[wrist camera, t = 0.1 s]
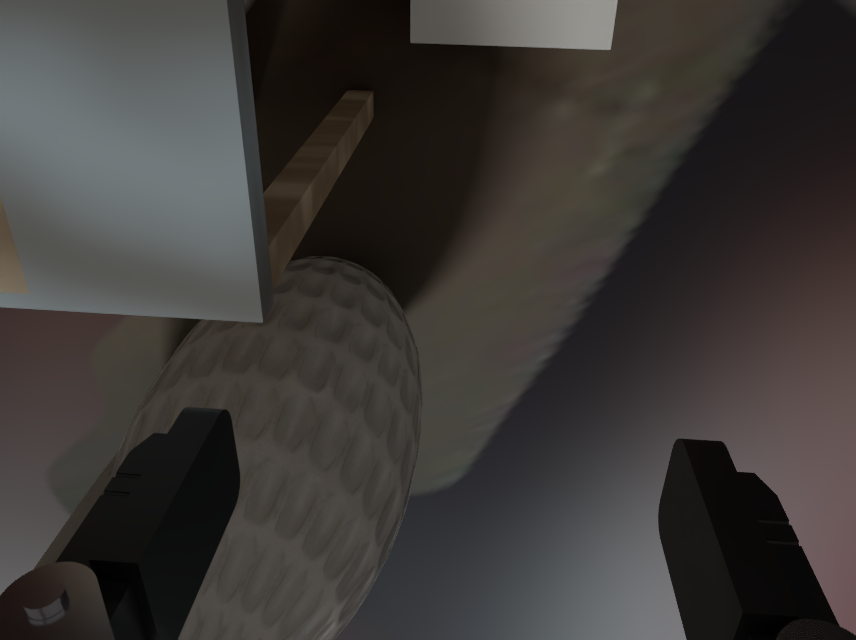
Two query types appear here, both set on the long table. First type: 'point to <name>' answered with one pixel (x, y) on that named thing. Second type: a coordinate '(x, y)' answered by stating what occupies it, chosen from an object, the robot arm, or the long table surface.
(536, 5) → the socket
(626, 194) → the long table surface
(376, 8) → the long table surface
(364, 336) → the vase
